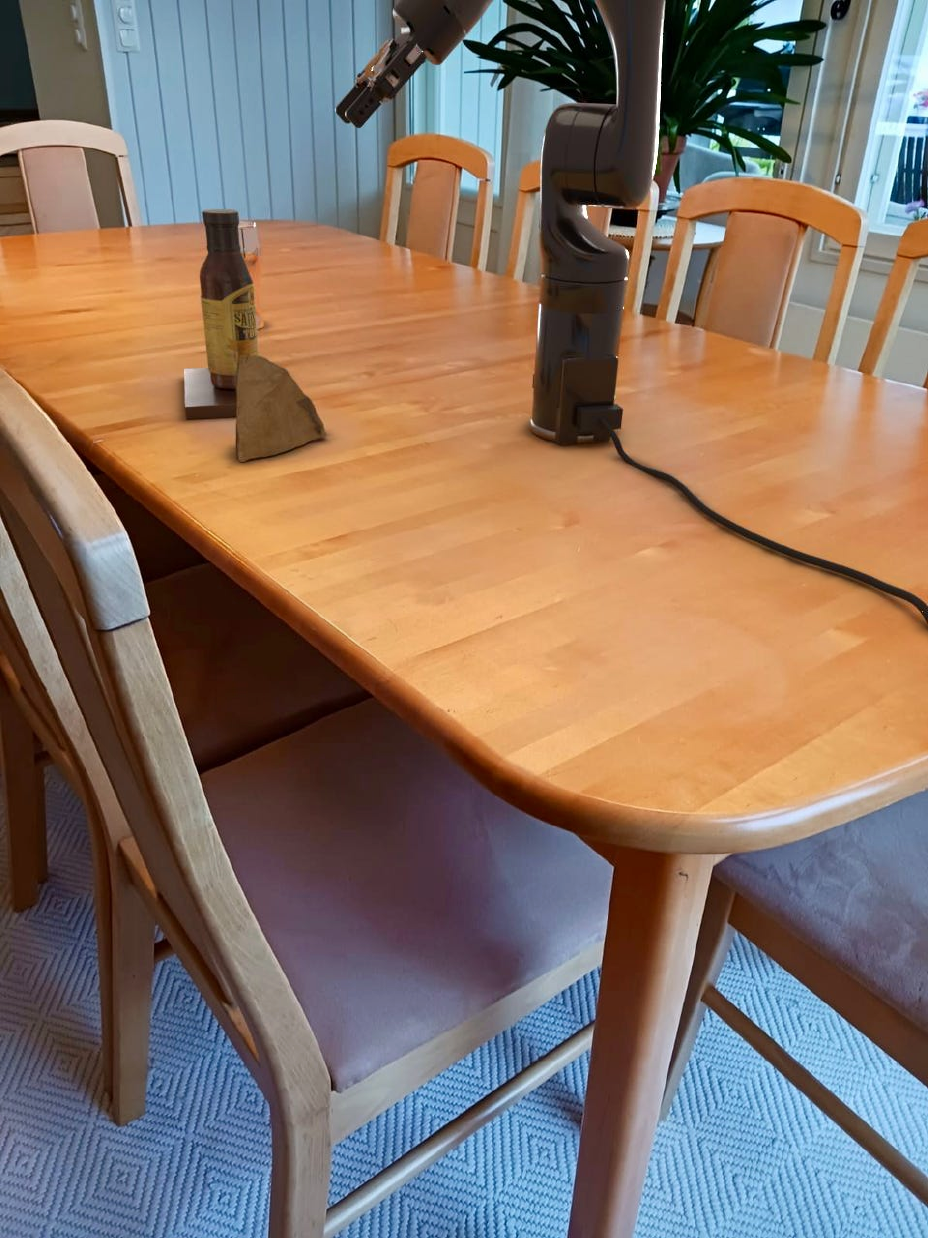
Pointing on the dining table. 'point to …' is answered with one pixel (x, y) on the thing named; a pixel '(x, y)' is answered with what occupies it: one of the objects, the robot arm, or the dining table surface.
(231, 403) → the metal block
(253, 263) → the beer glass
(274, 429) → the rock
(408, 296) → the dining table surface
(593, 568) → the dining table surface
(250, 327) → the sauce bottle
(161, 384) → the dining table surface
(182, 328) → the dining table surface
